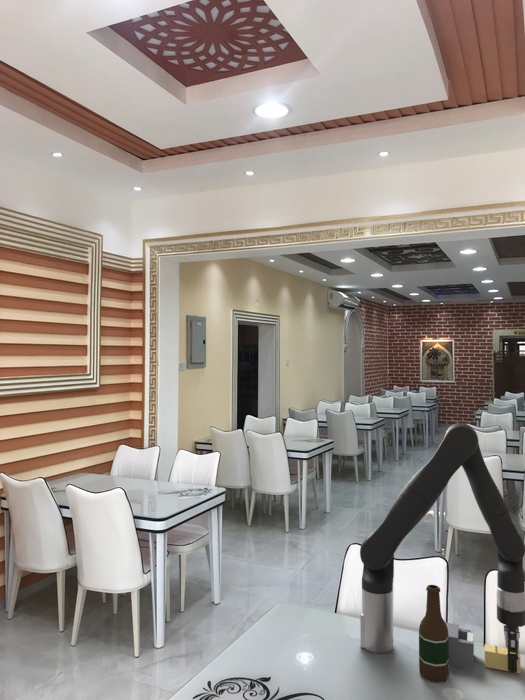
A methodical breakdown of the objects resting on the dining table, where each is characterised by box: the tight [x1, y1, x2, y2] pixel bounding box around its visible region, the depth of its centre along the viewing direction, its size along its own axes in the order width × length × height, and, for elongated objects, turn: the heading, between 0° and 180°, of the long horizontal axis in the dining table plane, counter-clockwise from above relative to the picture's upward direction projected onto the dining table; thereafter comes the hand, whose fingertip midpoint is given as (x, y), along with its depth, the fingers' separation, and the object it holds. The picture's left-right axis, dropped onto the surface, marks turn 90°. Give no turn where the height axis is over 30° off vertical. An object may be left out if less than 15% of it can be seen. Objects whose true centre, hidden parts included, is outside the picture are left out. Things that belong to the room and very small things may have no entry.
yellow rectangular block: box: [484, 643, 521, 674], centre depth 153 cm, size 9×4×4 cm, turn 68°
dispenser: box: [445, 621, 475, 670], centre depth 158 cm, size 12×8×8 cm
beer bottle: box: [418, 584, 450, 684], centre depth 150 cm, size 8×8×24 cm
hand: (512, 666), depth 152 cm, fingers open, 4 cm apart
